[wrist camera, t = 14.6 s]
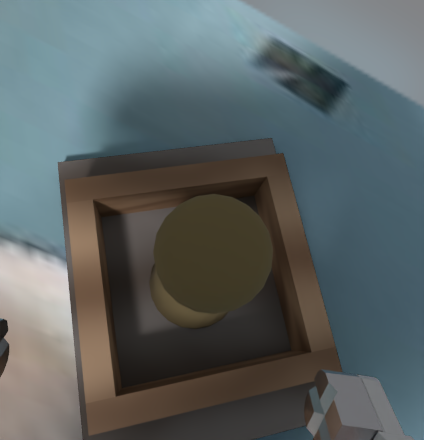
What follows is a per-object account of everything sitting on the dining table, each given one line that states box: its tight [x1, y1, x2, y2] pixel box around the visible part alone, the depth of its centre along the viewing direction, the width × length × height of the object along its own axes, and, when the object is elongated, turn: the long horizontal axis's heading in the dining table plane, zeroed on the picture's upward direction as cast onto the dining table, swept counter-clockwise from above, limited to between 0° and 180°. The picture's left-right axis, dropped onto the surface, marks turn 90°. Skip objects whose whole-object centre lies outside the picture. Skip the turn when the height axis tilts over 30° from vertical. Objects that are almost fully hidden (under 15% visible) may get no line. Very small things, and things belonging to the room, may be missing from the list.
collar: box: [58, 138, 342, 440], centre depth 24 cm, size 20×16×4 cm
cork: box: [149, 194, 273, 329], centre depth 20 cm, size 6×6×11 cm
